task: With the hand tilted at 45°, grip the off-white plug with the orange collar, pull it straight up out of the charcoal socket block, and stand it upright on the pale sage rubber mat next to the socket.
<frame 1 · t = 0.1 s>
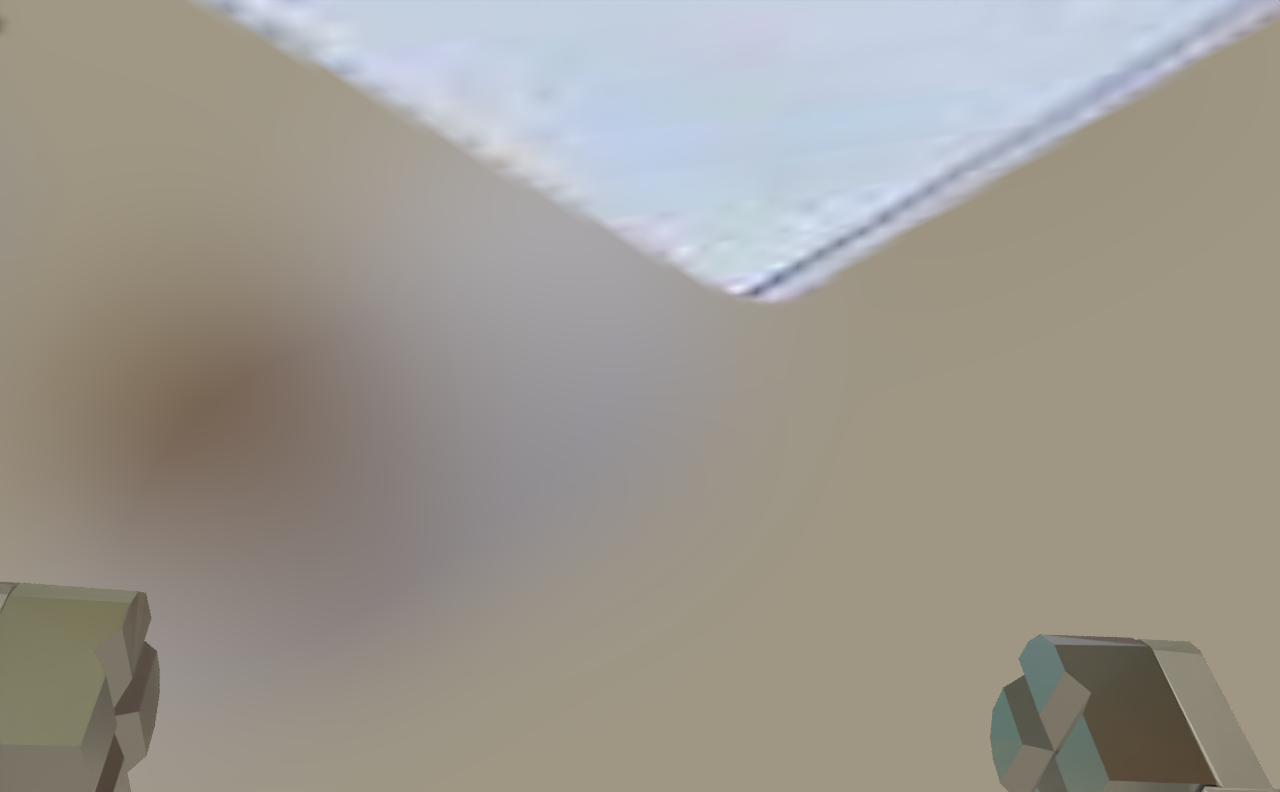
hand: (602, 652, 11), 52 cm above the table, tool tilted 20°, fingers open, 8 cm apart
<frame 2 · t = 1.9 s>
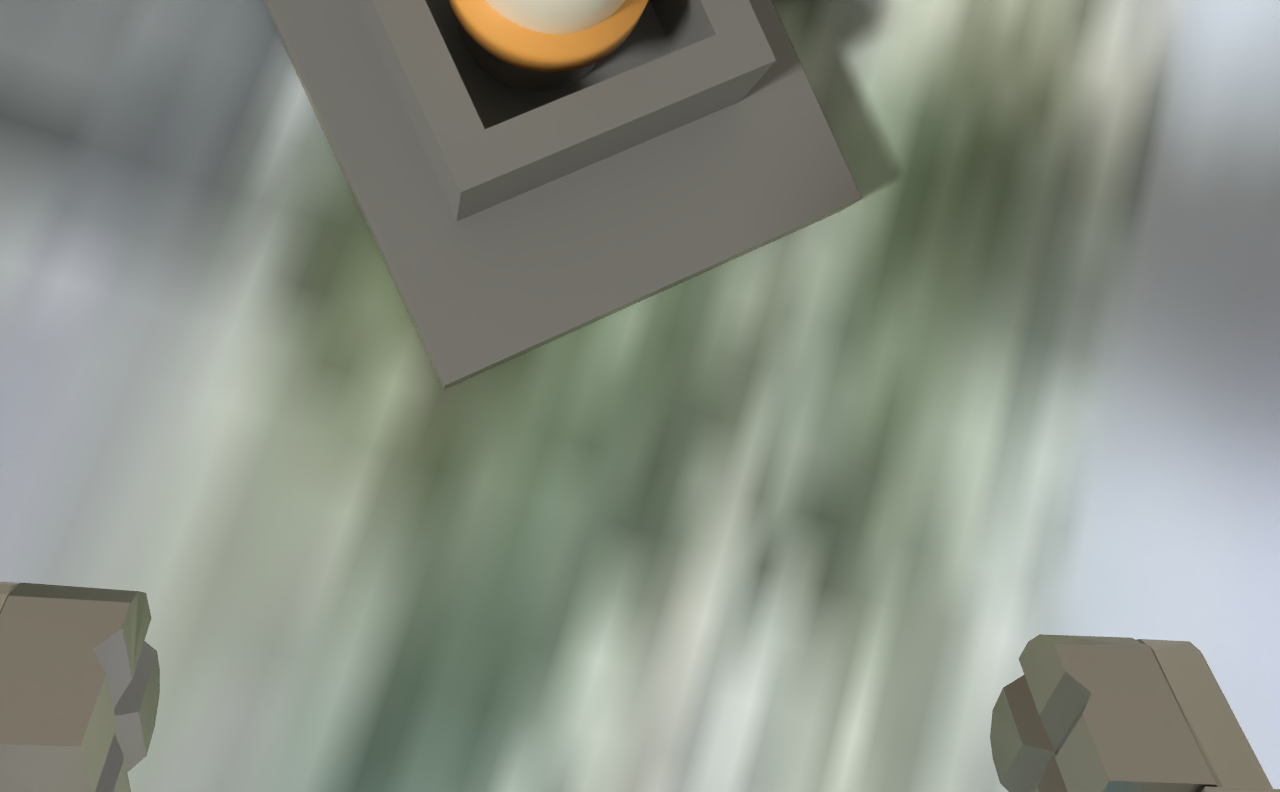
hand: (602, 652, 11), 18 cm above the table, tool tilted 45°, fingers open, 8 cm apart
plug: (535, 15, 28), point 1 cm above the table, touching socket
socket: (529, 37, 30), on the table
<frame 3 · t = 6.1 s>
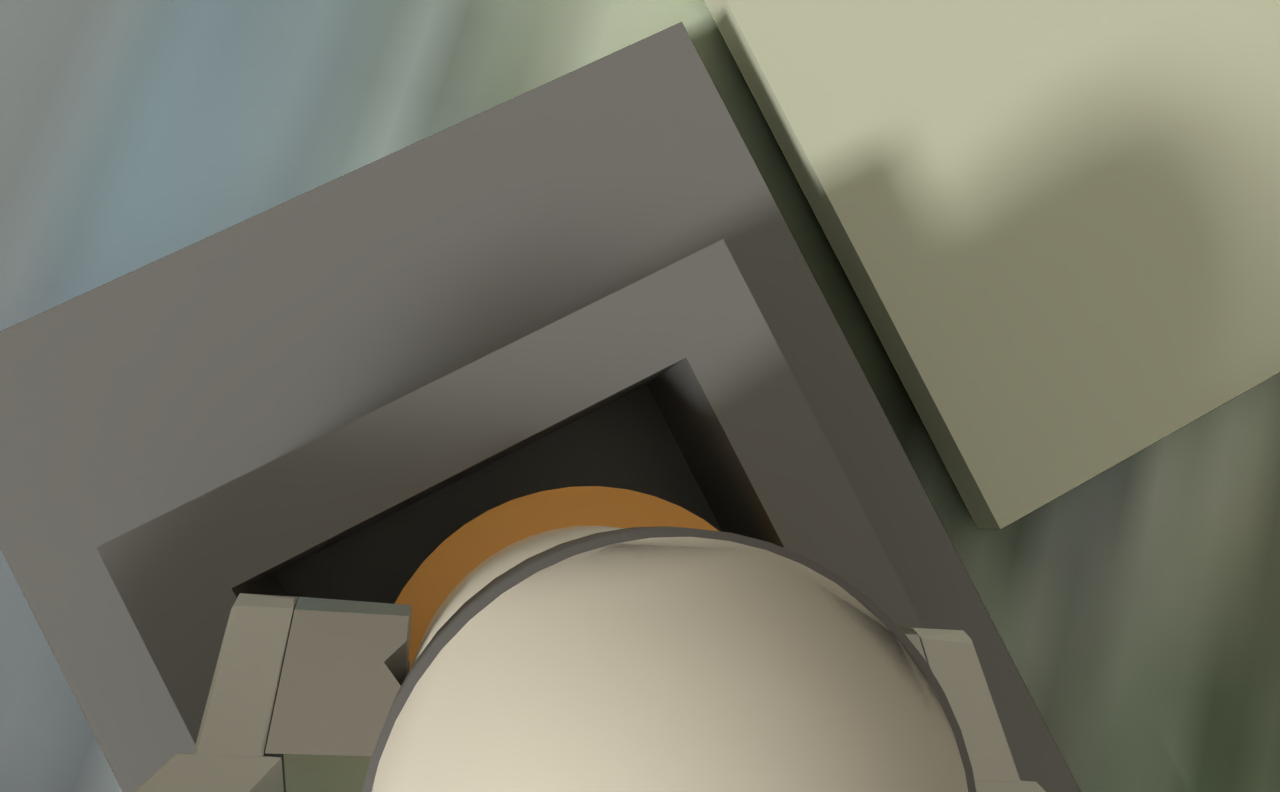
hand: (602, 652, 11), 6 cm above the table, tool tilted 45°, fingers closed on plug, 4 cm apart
plug: (560, 659, 16), point 1 cm above the table, touching gripper, socket
socket: (552, 646, 17), on the table
mat: (1053, 88, 19), on the table
when the fingers open (7 cm above the table, at t = 12.4 s): plug drops 1 cm, resting on mat.
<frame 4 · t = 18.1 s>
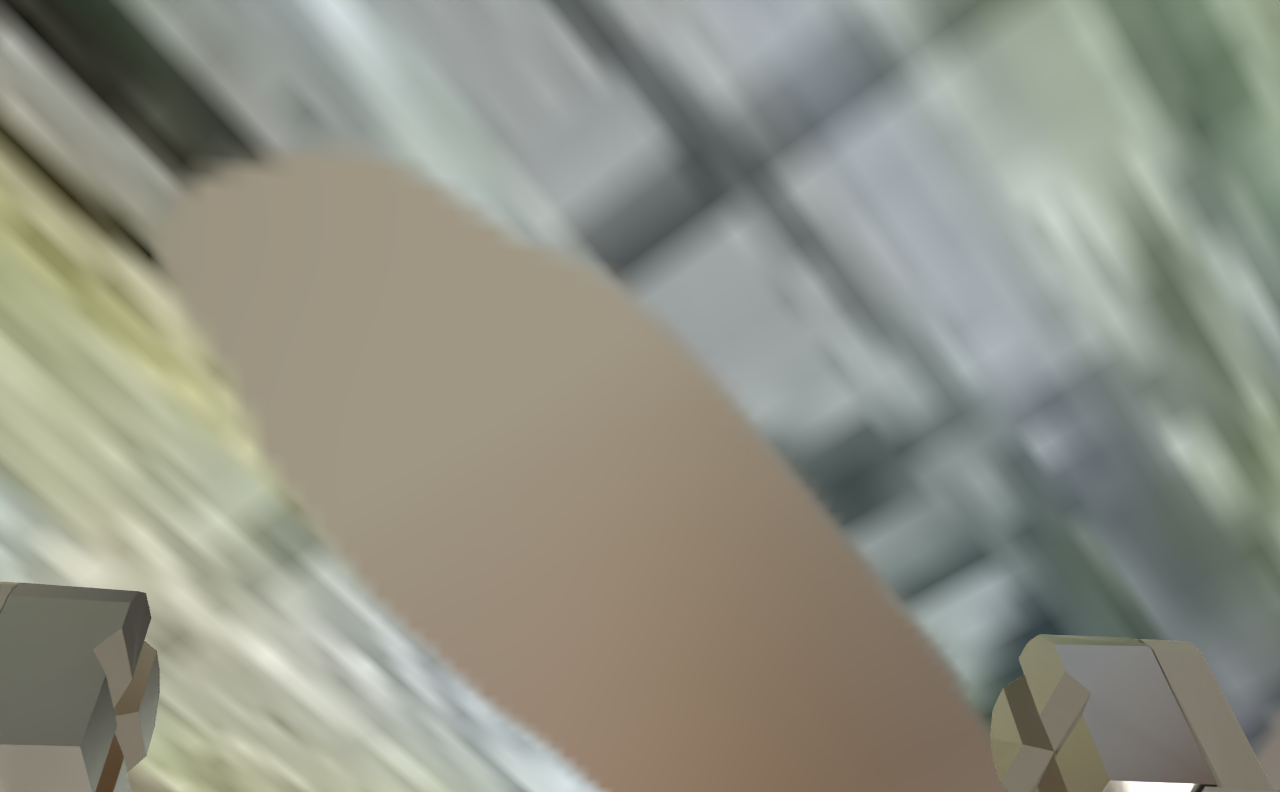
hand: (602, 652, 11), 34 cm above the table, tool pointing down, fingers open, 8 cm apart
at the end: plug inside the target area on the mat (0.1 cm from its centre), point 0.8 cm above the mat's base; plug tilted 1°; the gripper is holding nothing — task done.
